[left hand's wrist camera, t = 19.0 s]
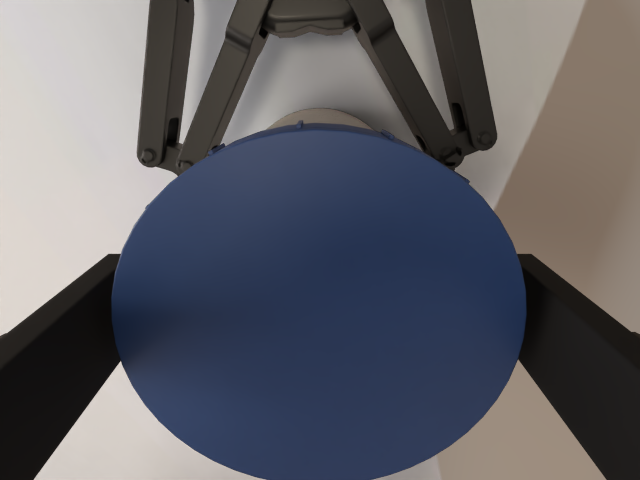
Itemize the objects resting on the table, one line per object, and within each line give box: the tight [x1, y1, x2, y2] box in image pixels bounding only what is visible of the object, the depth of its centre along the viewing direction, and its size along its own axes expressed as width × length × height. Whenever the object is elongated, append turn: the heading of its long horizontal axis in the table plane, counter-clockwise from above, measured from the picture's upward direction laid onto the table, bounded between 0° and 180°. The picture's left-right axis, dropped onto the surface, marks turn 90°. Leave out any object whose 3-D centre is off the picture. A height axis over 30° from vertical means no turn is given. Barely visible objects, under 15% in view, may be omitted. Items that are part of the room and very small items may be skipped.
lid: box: [111, 120, 527, 480], centre depth 11 cm, size 11×11×2 cm
